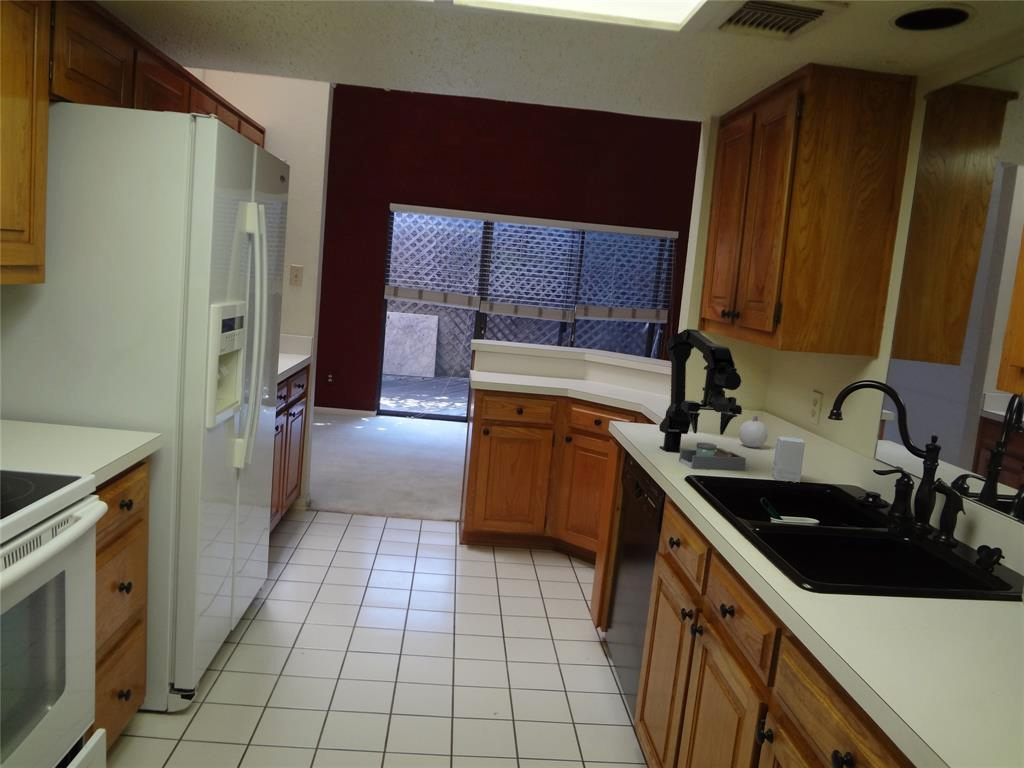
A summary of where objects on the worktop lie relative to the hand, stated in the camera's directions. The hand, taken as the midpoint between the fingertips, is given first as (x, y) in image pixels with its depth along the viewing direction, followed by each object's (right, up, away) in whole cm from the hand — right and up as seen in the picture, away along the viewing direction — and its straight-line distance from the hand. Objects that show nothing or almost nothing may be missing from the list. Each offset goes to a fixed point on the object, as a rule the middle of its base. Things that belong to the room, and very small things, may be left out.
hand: (708, 434), depth 243 cm
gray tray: (+1, -10, +2) cm, 11 cm away
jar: (-1, -10, +1) cm, 10 cm away
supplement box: (+22, -14, -8) cm, 27 cm away
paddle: (+5, -10, +3) cm, 12 cm away
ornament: (+27, -8, +42) cm, 51 cm away
